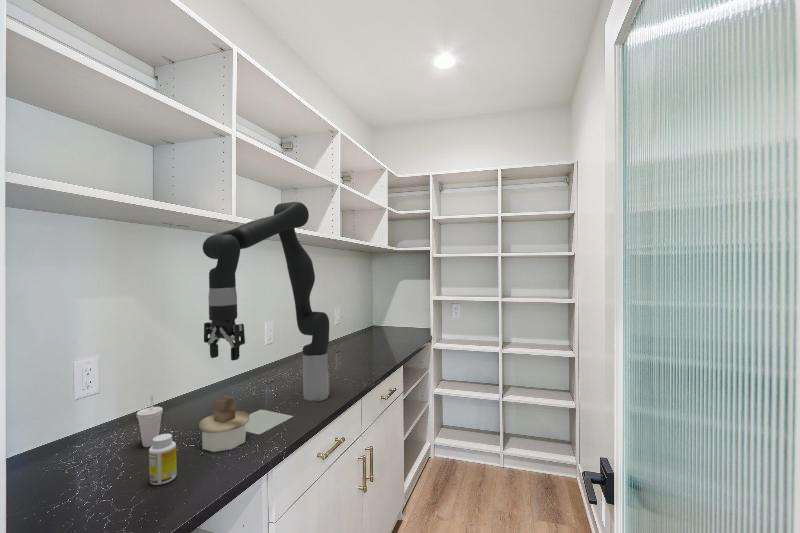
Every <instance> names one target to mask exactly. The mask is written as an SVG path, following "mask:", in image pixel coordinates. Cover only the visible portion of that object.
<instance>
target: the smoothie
mask: <svg viewBox="0 0 800 533" xmlns="http://www.w3.org/2000/svg"><path fill="white" fill-rule="evenodd" d="M163 412H164V410H163V407H161V406H154V394H150V407H145V408H143V409H141V410H138V411H137V412H136V418H137V419H138V426H139V431H140V438H141V442H142V447H144V448H149V447H150V448H151V447H152V446H153V438H154V437H156V436H158V435H160V430H161V420H162V413H163Z"/></svg>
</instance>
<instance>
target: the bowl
mask: <svg viewBox="0 0 800 533" xmlns="http://www.w3.org/2000/svg"><path fill="white" fill-rule="evenodd" d="M246 437H247V432H246V424H245V425H243V426H242V427H239V428H237V429H234V430H231V431H226V432H220V433H206V432H203V431H201V439H202V440H201V441H202V444H201V445H202V446H201V448H202V450H204V451H209V452H212V453H216V452H222V451H228V450H233V449H235V448H236V447H238V446H240V445H242V444H244V443H246Z"/></svg>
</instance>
